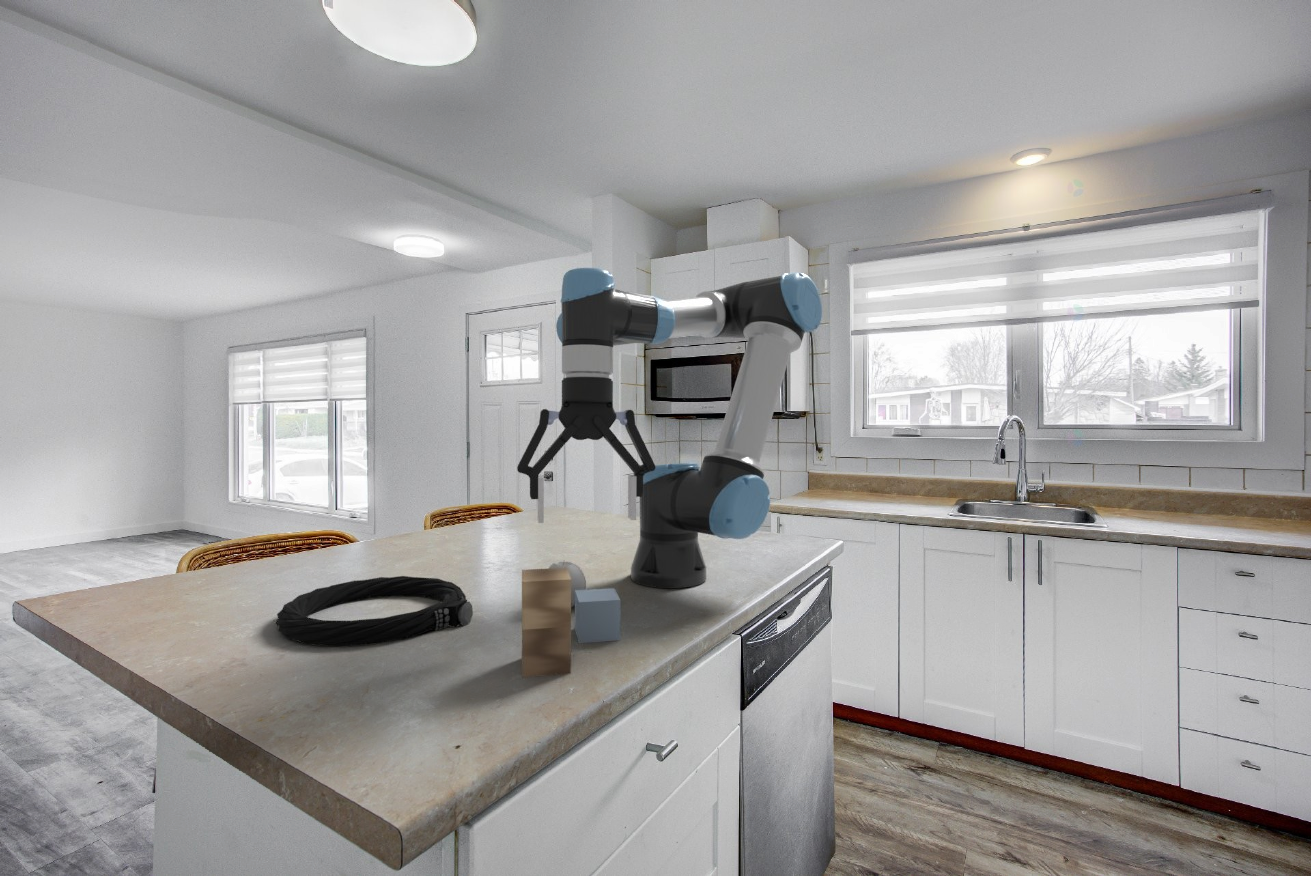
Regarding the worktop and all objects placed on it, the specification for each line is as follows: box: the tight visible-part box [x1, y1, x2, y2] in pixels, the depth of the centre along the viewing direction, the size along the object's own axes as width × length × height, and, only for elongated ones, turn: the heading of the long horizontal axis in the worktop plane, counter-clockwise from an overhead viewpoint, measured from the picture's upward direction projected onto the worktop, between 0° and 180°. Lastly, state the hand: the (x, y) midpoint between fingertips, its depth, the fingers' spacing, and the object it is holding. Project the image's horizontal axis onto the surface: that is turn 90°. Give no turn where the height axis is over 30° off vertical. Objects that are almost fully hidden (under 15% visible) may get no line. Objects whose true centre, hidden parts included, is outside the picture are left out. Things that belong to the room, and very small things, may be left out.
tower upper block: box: [521, 567, 572, 631], centre depth 79 cm, size 6×6×6 cm
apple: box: [547, 560, 587, 608], centre depth 103 cm, size 8×8×8 cm
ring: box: [274, 575, 474, 647], centre depth 98 cm, size 28×4×30 cm
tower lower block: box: [521, 625, 572, 678], centre depth 79 cm, size 6×6×6 cm
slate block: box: [574, 587, 621, 644], centre depth 91 cm, size 6×6×6 cm
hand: (587, 520), depth 90 cm, fingers open, 13 cm apart
